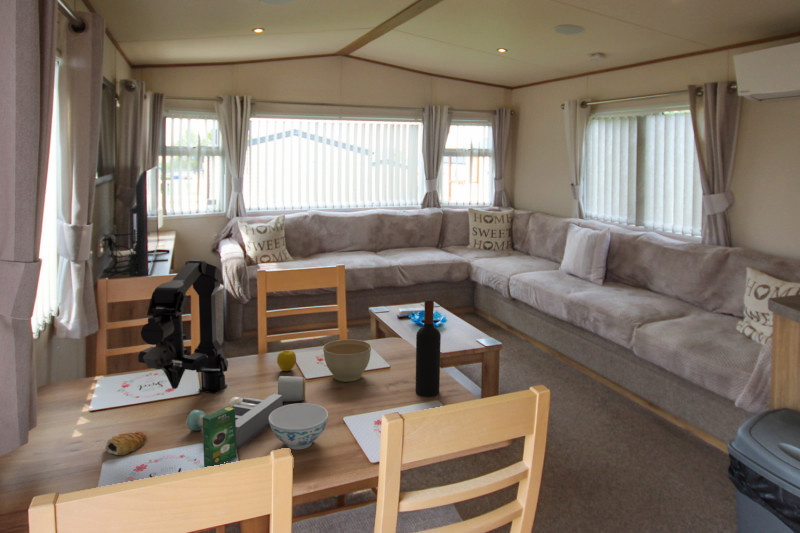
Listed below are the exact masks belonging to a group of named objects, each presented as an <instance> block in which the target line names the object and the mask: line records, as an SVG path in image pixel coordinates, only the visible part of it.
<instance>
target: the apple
mask: <svg viewBox="0 0 800 533" xmlns="http://www.w3.org/2000/svg"><path fill="white" fill-rule="evenodd" d="M276 362H277V365H278V367H279V369H280V370H281V371H283V372H289V371H291V370H292V369H293V368H294V367H295V365H296V362H297V355H296V353H295V351H294V350H290V349H289V350H284V349H283V350H281V351H280V352H279V353H278V355H277V358H276Z"/></svg>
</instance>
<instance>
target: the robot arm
mask: <svg viewBox="0 0 800 533" xmlns="http://www.w3.org/2000/svg"><path fill="white" fill-rule="evenodd" d="M222 276H223V275H222V271H221V269H219V268H218V267H217V266H216V265H212V264H211V263H208V262H206V261H205V260H203V259H189V260H186V261H185V264H184V266H183V267H181V269H180V270H179V271H178V273H176V275H175V276H174V277H173V278H172V279H171V280H170V281H166V282H162V283H160V284H159V285H158V286H157V287H155V288H154V290H153V292H152V293H151V298H150V302H149V305H148V309H147V313H146V315H147V316H149V317H148V318H147V323H146V324H144V325H143V326H142V328H141V331H140V335H141V339H142V340H143V341H144V342H145V343H146V344H148V345H151V346H150V347H148V348H146V349H143V350H141V351H140V352H138V354H137V359H138V363H142V364H145V366H146V368H147V369H155V370H162V371H163V372H164V374H165V376H166V378H167V379H168V383H169V384H170V387H171V388H172V389H174V390H176V389H178V388H179V385H180V382H181V381H182V377H183V375H184V374H185V371H196V373H200V376H201V380H200V381H201V387H200V388H198V391H199V390H200V391H199V392H205V393H210V394H211V393H212V394H216V393H218V392H220V391H222V390H223V389H225V388H227V387H228V384H227V383H226V375H225V373H224V372H227V371H228V366H229V361H228V359H227V358H226V357H225V355H224V354H223V347H222V345H221V344H220V343H219V341H218V340H217V318H216V317H217V316H216V315H217V314H216V313H217V312H216V294H217V292H218V290H219V289H220V287H221V281H222ZM191 287H192V289H193V290H194V291H195V293H196V294H197V295H198V310H199V311H198V314H199V340H200V341H199V343H198V345H197V346H196V348H194V350H193V352H194V353H191V354H189V355H187V353H188V348H185V347H184V346H185V345H184V344H185V343H184V340H185V339H187V334H184V330H183V315H182V314H183V313H184V312H185V309H184V306H185V303H186V300H187V298H188V297H187V292H188V291H189V290H190V288H191Z"/></svg>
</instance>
